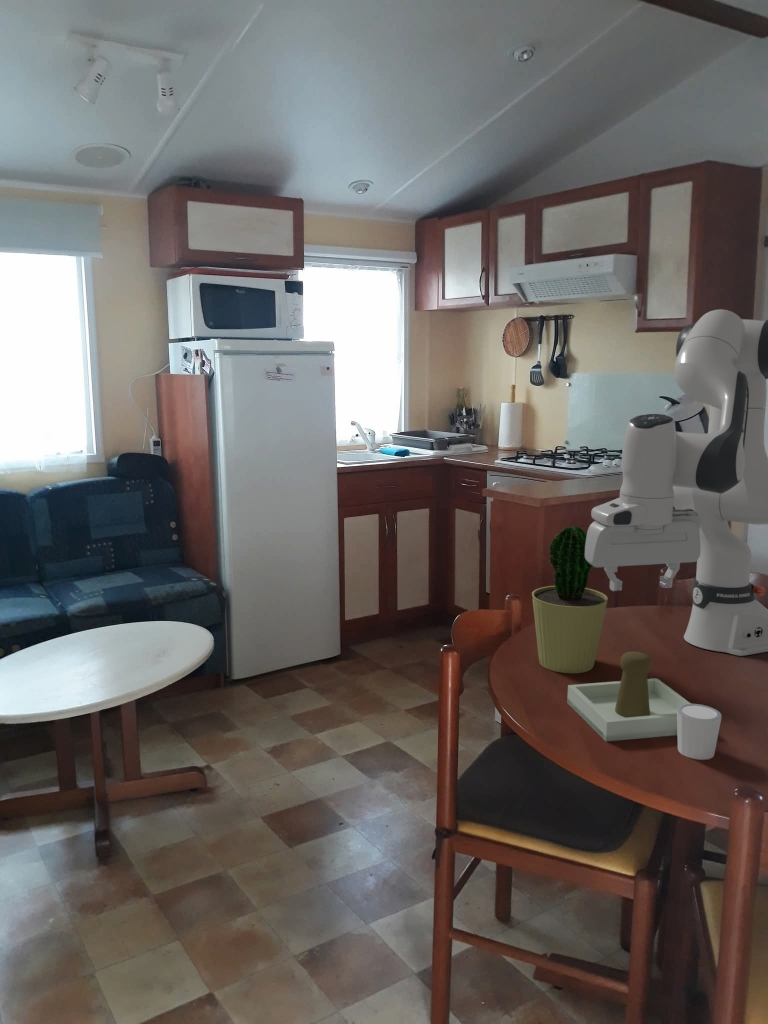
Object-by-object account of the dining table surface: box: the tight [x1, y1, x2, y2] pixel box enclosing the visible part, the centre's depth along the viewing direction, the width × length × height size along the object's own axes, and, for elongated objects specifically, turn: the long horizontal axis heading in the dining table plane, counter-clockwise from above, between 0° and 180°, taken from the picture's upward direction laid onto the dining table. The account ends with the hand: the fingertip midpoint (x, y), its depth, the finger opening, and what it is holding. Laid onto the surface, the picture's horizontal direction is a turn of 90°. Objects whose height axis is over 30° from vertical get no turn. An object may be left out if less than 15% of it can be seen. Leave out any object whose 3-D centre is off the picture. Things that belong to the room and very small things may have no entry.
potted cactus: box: [531, 524, 609, 674], centre depth 173 cm, size 15×15×30 cm
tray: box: [566, 677, 692, 743], centre depth 149 cm, size 18×16×4 cm
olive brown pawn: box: [615, 650, 652, 718], centre depth 148 cm, size 6×6×11 cm
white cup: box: [676, 703, 722, 761], centre depth 136 cm, size 7×7×7 cm
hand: (640, 588), depth 145 cm, fingers open, 8 cm apart
